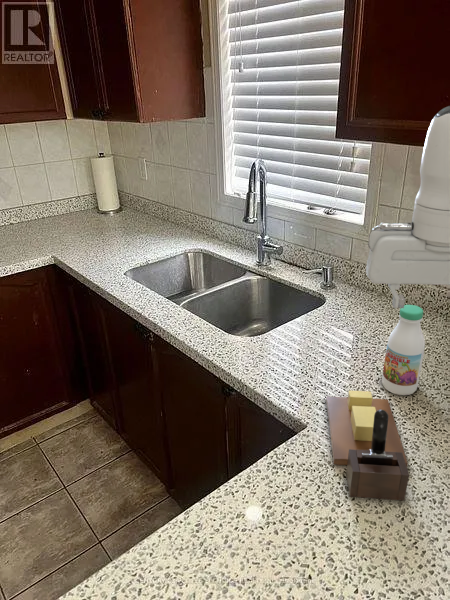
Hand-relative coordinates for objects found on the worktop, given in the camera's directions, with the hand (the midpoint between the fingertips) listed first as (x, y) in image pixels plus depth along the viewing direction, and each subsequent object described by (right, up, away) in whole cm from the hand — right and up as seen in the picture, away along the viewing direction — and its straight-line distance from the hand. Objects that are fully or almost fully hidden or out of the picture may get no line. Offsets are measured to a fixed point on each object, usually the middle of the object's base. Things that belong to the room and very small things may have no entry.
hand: (428, 307), depth 71 cm
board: (-5, -25, +19) cm, 32 cm away
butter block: (-5, -25, +18) cm, 31 cm away
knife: (-6, -32, +7) cm, 33 cm away
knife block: (-6, -31, +7) cm, 33 cm away
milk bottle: (+8, -19, +32) cm, 38 cm away
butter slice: (-4, -22, +24) cm, 32 cm away
